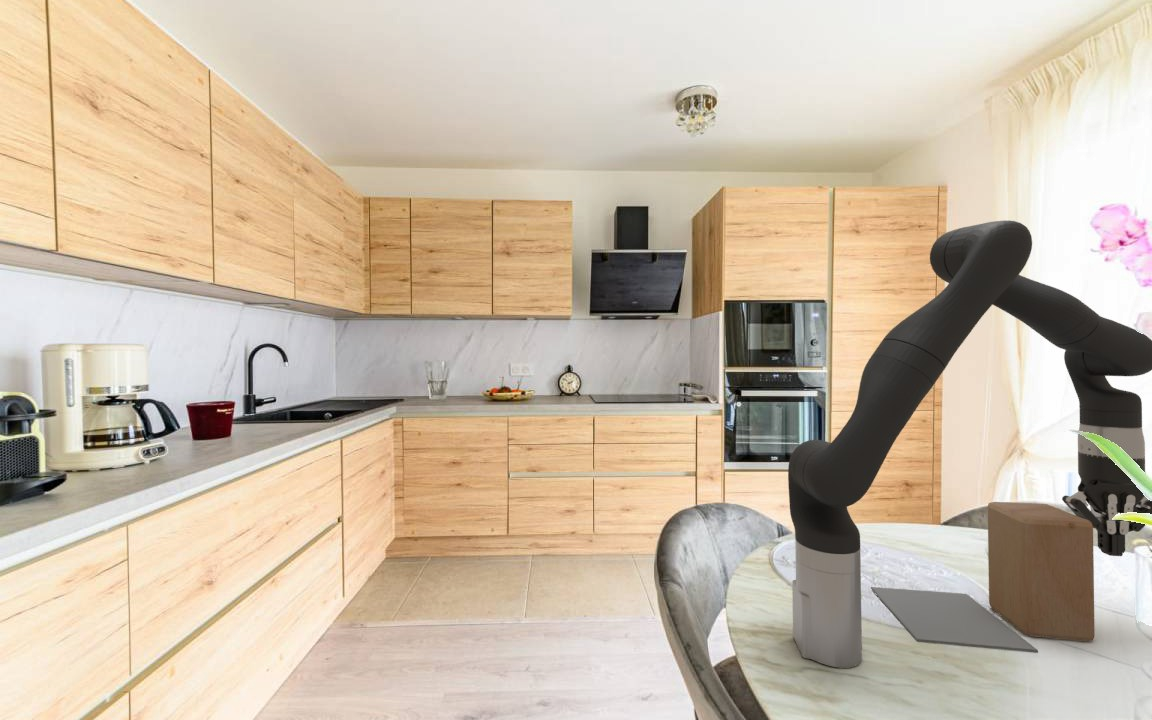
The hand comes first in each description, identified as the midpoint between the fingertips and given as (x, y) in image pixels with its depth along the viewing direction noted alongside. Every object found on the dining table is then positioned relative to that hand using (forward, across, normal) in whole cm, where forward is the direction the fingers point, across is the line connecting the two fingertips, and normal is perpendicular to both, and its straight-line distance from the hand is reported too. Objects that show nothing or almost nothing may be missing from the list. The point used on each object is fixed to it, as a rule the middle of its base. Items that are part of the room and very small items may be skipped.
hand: (1111, 554), depth 79 cm
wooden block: (+13, -11, 0) cm, 17 cm away
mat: (+13, -25, 0) cm, 28 cm away
